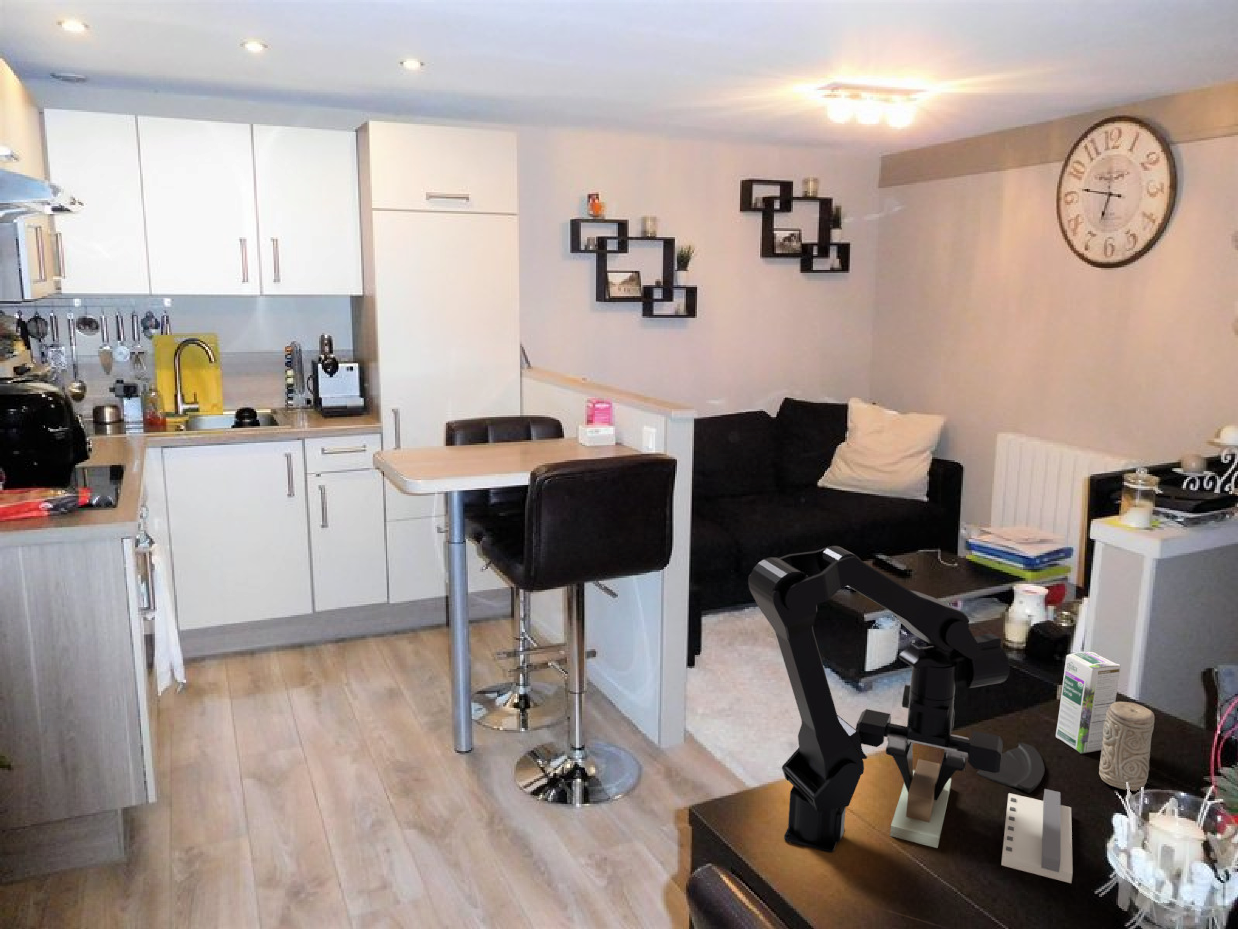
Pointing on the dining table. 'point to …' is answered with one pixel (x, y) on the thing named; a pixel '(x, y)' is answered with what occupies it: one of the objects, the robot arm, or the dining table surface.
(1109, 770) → the carving
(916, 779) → the green base with block
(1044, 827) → the notched base stand
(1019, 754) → the curved wedge
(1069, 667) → the syrup box
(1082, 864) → the dining table surface
